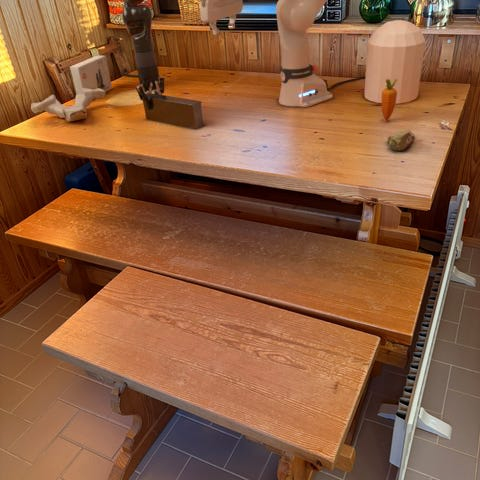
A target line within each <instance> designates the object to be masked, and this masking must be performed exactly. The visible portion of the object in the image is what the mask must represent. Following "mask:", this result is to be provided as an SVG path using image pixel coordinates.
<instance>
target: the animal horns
mask: <svg viewBox="0 0 480 480" xmlns="http://www.w3.org/2000/svg"><path fill="white" fill-rule="evenodd" d="M81 91H82V94H79V95H77V94H76V95H75V103H74V104H73V105H69V106H65V105H63V104H62V103H61V102H60V101H59V100H58V99H57V98H56V97H57V96H56V95H55V94H51V95H49V96H48V97H47V98H45V99H43V100H42V101H39V102H31V105H30V110H31V112H32V113H34V114H37V113H42V112H43V111H44V112H47V113H48V114H50V115H56V116H58V117H59V118H60V119H63V118H64V119H65V120H66V121H67V122H68V123H70V122H76V121H80V120H83V119H86V118H87V117H88V112H87V108H88V107H89V106H90V105H91V103H92V101H93V100H95V99H103V98H105V97H106V95H107V92H105V90H102V89H99V88H98V89H95V90H94V89H87V88H82V90H81Z"/></svg>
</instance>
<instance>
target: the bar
mask: <svg viewBox="0 0 480 480" xmlns="http://www.w3.org/2000/svg"><path fill="white" fill-rule="evenodd" d="M147 97H148V95H147ZM150 100H151V103H152V108H153V109H152V110H148V109H147V107H146V102H145V100H142V104H143V109H144V114H145V119H146V120H149V121H153V122H159V123H163V124H168V125H173V126H177V127H183V128H188V129H193V130H197V129H199V128H201V127H203V126H205V123H204V121H205V120H204V114H203V108H202V101H201V100H198V99H197V100H196V99H190V98H184V97H178V96H170V95H165V94H162V95H159V94H155V93H154V92H152V94H151V99H150Z"/></svg>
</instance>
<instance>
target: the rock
mask: <svg viewBox="0 0 480 480" xmlns="http://www.w3.org/2000/svg"><path fill="white" fill-rule="evenodd" d="M415 139H416V135H415V134H414V132H412V131H411V130H408V129H407V130H404V131H398V132H396V133H394V134H393V135H392V134H391V135H389V136H388V137H387V143H388V145H387V146H388V147H389V149H391V150H392V151H395V152H404V151H406V150H407V148H409V145H410V144H411V143H412V142H413V141H414V140H415Z"/></svg>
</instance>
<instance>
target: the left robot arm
mask: <svg viewBox="0 0 480 480" xmlns="http://www.w3.org/2000/svg"><path fill="white" fill-rule="evenodd" d="M144 2H145V0H122V3H123V7H122V12H121V17H122V18H121V19H122V22H123V24H124V25H125V27H126V30H127V33H128V34H129V36H131V37H132V38H131V41H132V46H133V50H134V60H135V63H136V71H137V72H136V73H137V74H130V73H126V72H127V68H123V69H122V75H123V76H126V77H132V78H138V82H139V85H135V90H136V93H137V95H138V97H139V99H140V101H143V100H145V102H146V107H147V109H148V110H152V109H153V108H152V103H151V100H150V99H151V94H152V93H153V94H159V95H163V94H164V93H165V77H162V76H160V73H159V72H160V71H159V67H158V66H159V65H158V62H157V61H158V60H157V55H156V50H155V45H154V39H153V34H152V33H153V32H152V23H153V11H152V9H151V7H150V6H149V5H147V4H143V3H144ZM147 95H148V97H147Z"/></svg>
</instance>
